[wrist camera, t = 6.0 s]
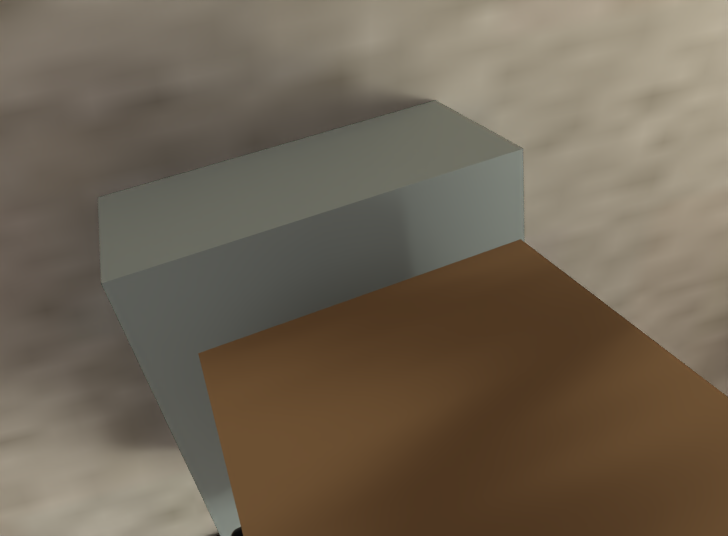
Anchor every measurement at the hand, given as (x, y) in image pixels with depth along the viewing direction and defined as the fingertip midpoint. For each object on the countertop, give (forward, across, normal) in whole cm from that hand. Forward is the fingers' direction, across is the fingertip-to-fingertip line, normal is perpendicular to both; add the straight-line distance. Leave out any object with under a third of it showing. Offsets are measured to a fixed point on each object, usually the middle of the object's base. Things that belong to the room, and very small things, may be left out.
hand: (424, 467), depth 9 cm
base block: (+6, 0, 0) cm, 6 cm away
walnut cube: (+1, 0, 0) cm, 1 cm away
